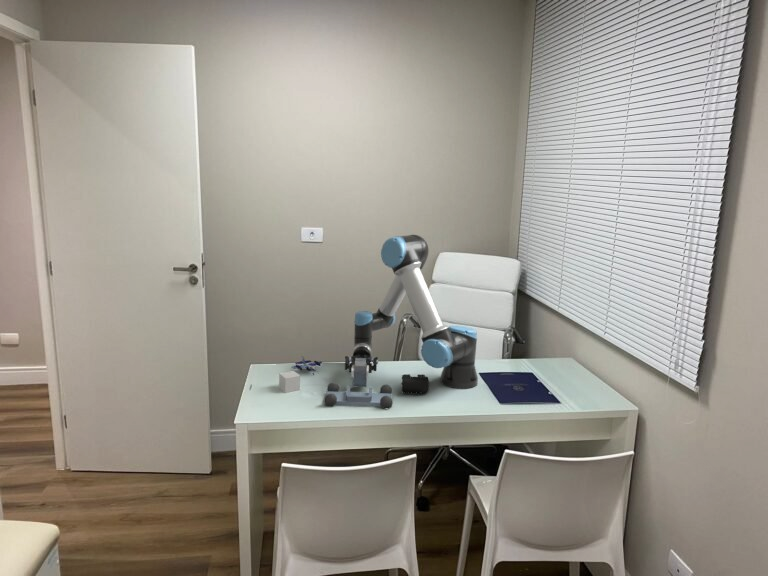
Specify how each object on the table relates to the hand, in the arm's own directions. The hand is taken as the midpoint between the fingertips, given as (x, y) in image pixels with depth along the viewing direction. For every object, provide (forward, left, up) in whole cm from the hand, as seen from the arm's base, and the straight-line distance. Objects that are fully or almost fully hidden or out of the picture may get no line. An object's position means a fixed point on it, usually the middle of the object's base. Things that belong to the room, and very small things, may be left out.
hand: (359, 374), depth 216 cm
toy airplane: (+22, -22, -9) cm, 32 cm away
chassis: (0, +6, -8) cm, 10 cm away
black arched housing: (-21, -4, -9) cm, 23 cm away
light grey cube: (+27, -3, -9) cm, 28 cm away
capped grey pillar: (0, -5, -6) cm, 8 cm away
